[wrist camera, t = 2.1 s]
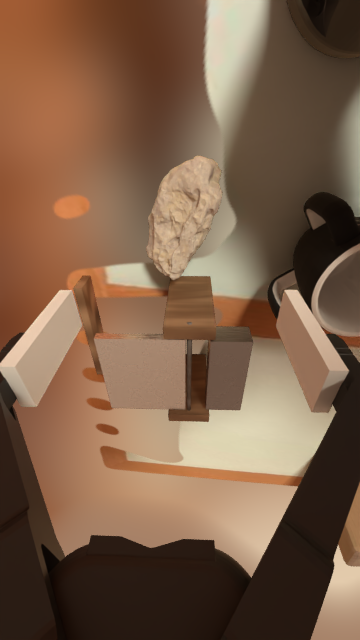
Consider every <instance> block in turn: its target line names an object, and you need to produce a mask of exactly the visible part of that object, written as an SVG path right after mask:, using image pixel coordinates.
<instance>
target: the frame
mask: <svg viewBox="0 0 360 640" xmlns="http://www.w3.org/2000/svg"><path fill="white" fill-rule="evenodd" d="M73 289H74V293H75V296H76V300H77V303H78V307H79V311H80V314H81V318H82V321H83V325H84V329H85V332H86V336H87V339H88V343H89V347H90V350H91V353H92V357H93V361H94V364H95V368H96V372H97V374H103V372H102V369H101V365H100V361H99V357H98V353H97V349H96V346H95V342H94V337H95V335H96V333H103V329H102V324H101V321H100V316H99V311H98V307H97V303H96V298H95V294H94V290H93V285H92V281H91V276H82V277H81V279H80V280H79V281H78V283H77V284H76V285H75V287H74V288H73ZM163 337H164V339H187V354H185V403H186V404H185V410H178V409H169V414H168V417H169V420H170V421H200V422H209V409H206V403H205V385H206V370H207V369H206V354H192V340H215V339H216V321H215V313H214V304H213V296H212V287H211V279H210V276H180V277H179V278H177V279H175V280H172V279H171V278H170V284H169V291H168V298H167V304H166V311H165V318H164V324H163Z"/></svg>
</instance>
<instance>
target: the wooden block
mask: <svg viewBox="0 0 360 640" xmlns="http://www.w3.org/2000/svg"><path fill="white" fill-rule="evenodd" d="M338 545H339V548H340V550H341V553H342V556H343V559H344V561H345V562H346V564H347V565H349V566H360V483H359V486H358V489H357V491H356V494H355V497H354V500H353V503H352V506H351V509H350V512H349V514H348V517H347V520H346V523H345V526H344V529H343V532H342V534H341V537H340V540H339V543H338Z"/></svg>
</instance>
